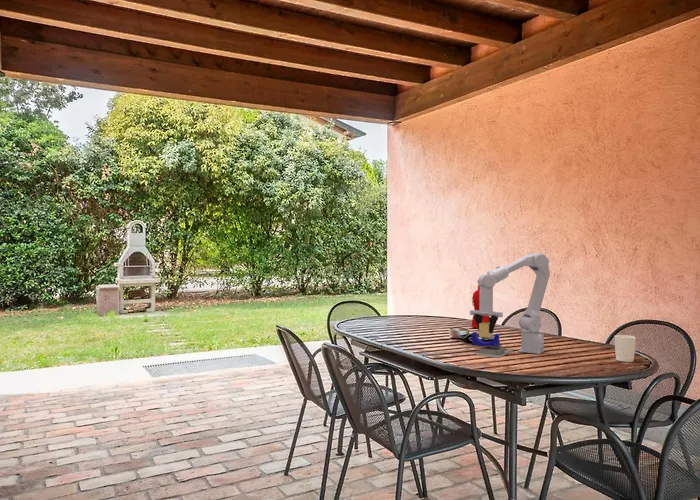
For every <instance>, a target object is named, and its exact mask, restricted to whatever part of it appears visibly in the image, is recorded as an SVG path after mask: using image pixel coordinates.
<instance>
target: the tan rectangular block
mask: <svg viewBox="0 0 700 500" xmlns="http://www.w3.org/2000/svg"><path fill="white" fill-rule="evenodd" d="M492 337H493V333H490V323H489V322H481V323H479V331H478V338H492Z"/></svg>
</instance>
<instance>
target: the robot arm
mask: <svg viewBox="0 0 700 500" xmlns="http://www.w3.org/2000/svg"><path fill="white" fill-rule="evenodd" d="M549 264H550V259H549V258H548V257H547V256H546V255H545V254H544V253H541V252H540V253H535V252H534V253H533V252H531V253H528V254H525V255H523V256H521V257H520V258H518V259H517V260H514V261H512V262H511V263H509V264H508V265H506V266H504V265H497V266H496V267H495V269H492V270H491V271H487V273H485V274H484V273H483V274H481V275H479V277H478V279H477V284H478V285H479V286H480V304H479V311H478V310H474V309H473V310H472V309H471V310H469V316H473V315H475V316H474V319H475V321H476V323H477V326H478V329H477V331H478V332H479V323H481V322H482V319H483V316H489V321H490V333H492V334H493V333H494V329H495V326H496V324H497V321H498V320H499V318H503V317H504V313H503V312H500V311H494V310H493V309H494V287H495V285H496V284H497V283H499V282H501V281H503V280H505V279H507V278H508V277H509V274H510V273H512V272H514V271H516V270H519V269H521V268H523V267H529V268H530V269H531V270H532V271H533V272H534V274H535V280H534V283H533V287H532V291H531V294H530V298H529V301H528V305H527V308H526V309H525V310H524V312H523V313H522V315H521V317H520V318H519V320H518V325H519V327H520V328H521V329H520V330H521V332H520V333H521V334H520V339H521V341H520V343H521V344H520V346H521V347H520V349H518V350H517V351H518V352H521V353H530V354H537V355H538V354H539V355H541V354H542V353H544V352H545V336H544V333H543V332H539V331H540V330H541V329H542V322H541V321H542V315H541V313H540V311H541V307H542V304H543V300H544V297H545V294H546V290H547V287H548V283H549V279H550V276H551V275H550V274H551V271H550V265H549ZM484 314H489V315H484Z"/></svg>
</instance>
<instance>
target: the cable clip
mask: <svg viewBox="0 0 700 500" xmlns="http://www.w3.org/2000/svg"><path fill="white" fill-rule="evenodd" d="M471 339H472V340H471V343H472V344H471V345H472V346H478V347H484V346H494V347H500V345H501V340H500V333H495V334H494V337H493V339H492V341H483V340H481V339H480V337H479V335H478V332H476V331H473V332H472V334H471Z"/></svg>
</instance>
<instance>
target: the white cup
mask: <svg viewBox="0 0 700 500" xmlns="http://www.w3.org/2000/svg"><path fill="white" fill-rule="evenodd" d="M614 352H615V360H616V361H619V362H624V363H631V362H635V361H634V360H635V353H636V336H633V335H626V334H616V335H614Z"/></svg>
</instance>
